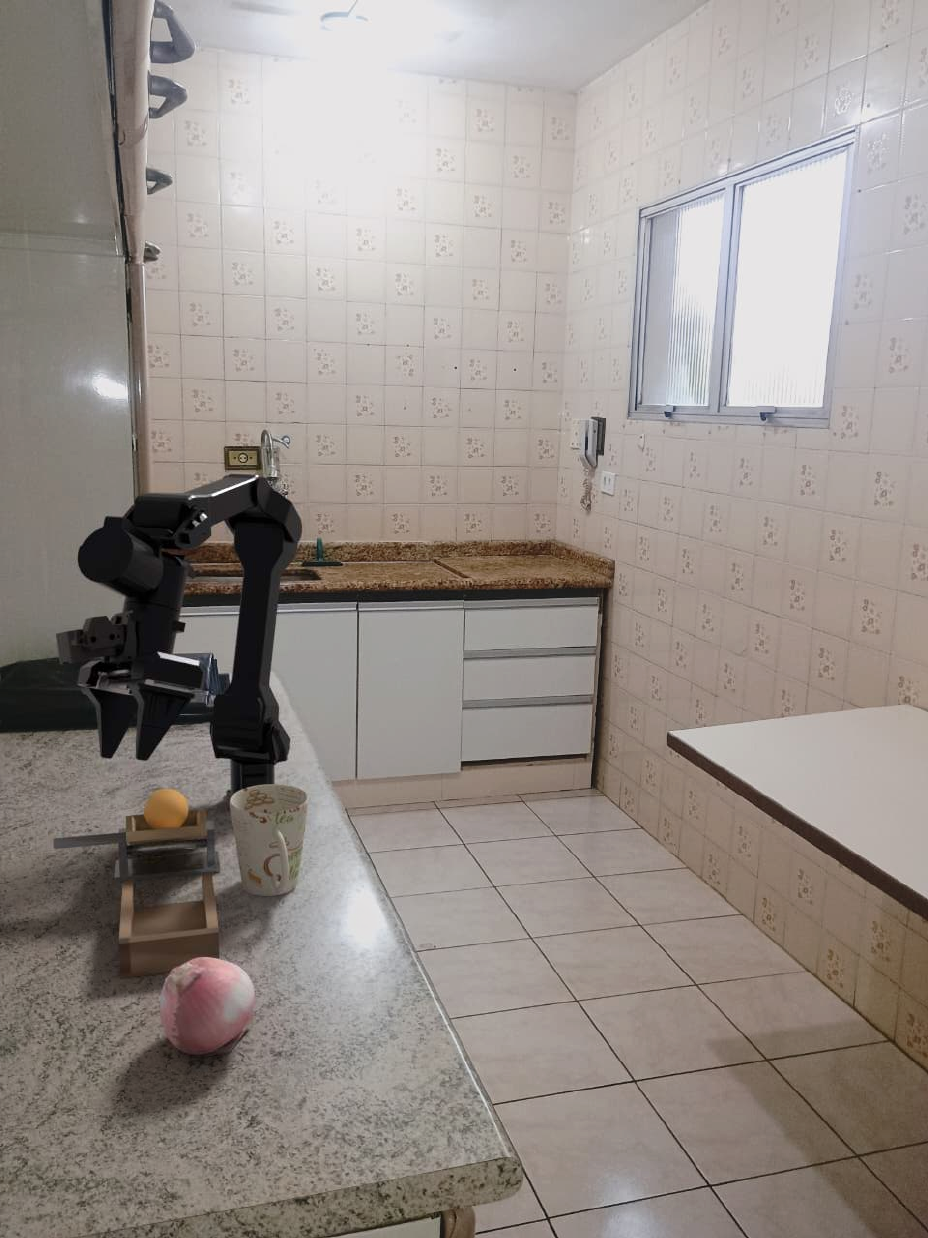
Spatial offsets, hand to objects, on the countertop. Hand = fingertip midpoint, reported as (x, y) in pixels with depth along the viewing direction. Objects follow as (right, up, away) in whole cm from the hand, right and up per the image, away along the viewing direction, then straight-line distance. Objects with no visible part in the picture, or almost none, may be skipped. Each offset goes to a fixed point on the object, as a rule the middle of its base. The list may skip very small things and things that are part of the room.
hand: (123, 759), depth 100 cm
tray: (+5, -17, -3) cm, 18 cm away
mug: (+14, -16, +7) cm, 22 cm away
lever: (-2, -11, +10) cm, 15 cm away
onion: (+13, -21, -18) cm, 31 cm away
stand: (+1, -14, +12) cm, 18 cm away
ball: (0, -8, +16) cm, 18 cm away
